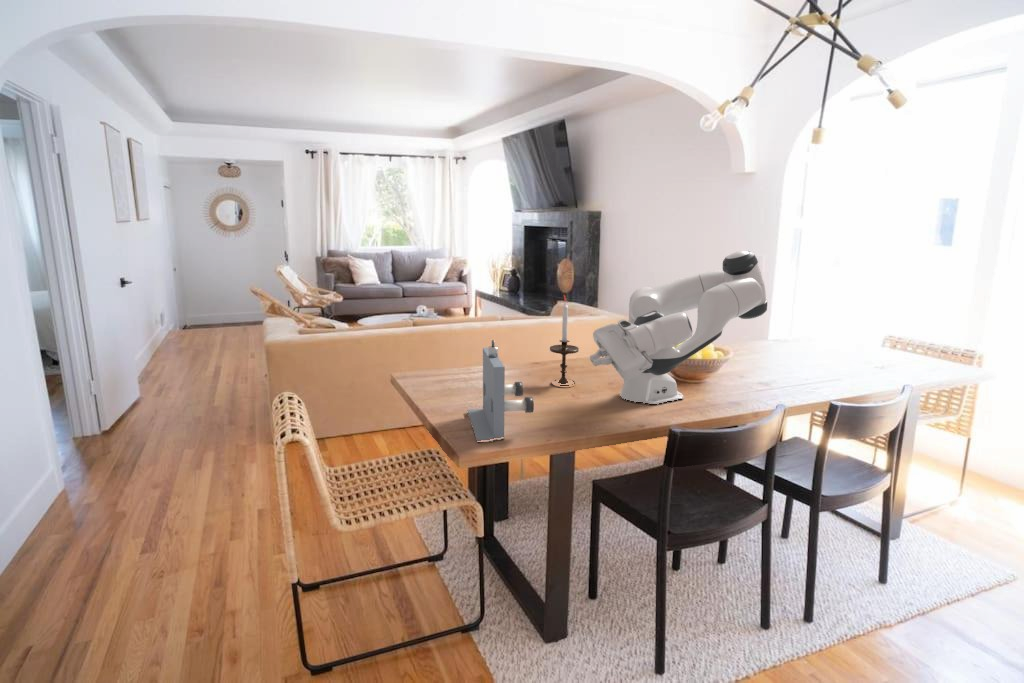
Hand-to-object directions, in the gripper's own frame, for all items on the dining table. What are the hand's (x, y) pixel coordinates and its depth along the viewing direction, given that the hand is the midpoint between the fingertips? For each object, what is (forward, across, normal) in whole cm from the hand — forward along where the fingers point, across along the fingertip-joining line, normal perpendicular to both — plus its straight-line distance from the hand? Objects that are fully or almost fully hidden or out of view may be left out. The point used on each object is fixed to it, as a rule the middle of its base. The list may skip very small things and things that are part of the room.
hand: (591, 361), depth 160 cm
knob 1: (+23, +22, -21) cm, 38 cm away
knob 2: (+23, +7, -15) cm, 29 cm away
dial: (+24, +21, -3) cm, 32 cm away
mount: (+33, +14, -21) cm, 42 cm away
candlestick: (-2, +45, -47) cm, 65 cm away
